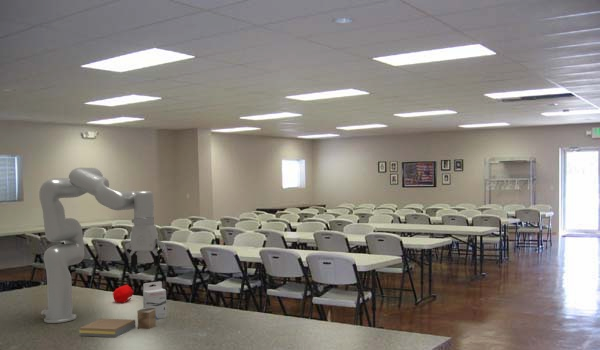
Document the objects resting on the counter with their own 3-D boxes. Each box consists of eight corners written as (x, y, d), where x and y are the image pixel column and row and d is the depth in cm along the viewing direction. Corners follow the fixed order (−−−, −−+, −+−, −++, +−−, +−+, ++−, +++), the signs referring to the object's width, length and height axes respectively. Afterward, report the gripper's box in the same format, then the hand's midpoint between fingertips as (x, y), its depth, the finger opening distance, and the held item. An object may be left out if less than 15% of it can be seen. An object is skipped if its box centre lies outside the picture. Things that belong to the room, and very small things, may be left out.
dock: (79, 336, 211) (79, 328, 211) (101, 326, 225) (101, 318, 225) (114, 337, 207) (114, 329, 207) (135, 327, 221) (135, 319, 221)
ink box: (147, 320, 231) (146, 285, 231) (143, 318, 236) (142, 283, 236) (167, 317, 236) (166, 282, 236) (163, 315, 240) (162, 280, 240)
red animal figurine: (107, 292, 267) (116, 288, 275) (114, 307, 266) (123, 303, 274) (121, 286, 265) (129, 282, 273) (127, 300, 265) (136, 296, 273)
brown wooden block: (137, 328, 219) (137, 310, 219) (144, 325, 224) (143, 307, 224) (149, 329, 218) (149, 311, 218) (156, 325, 223) (155, 308, 223)
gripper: (119, 223, 220) (120, 266, 220) (159, 222, 216) (161, 267, 216) (129, 221, 227) (131, 263, 227) (168, 221, 223) (170, 264, 223)
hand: (145, 265), depth 222 cm, fingers open, 9 cm apart
